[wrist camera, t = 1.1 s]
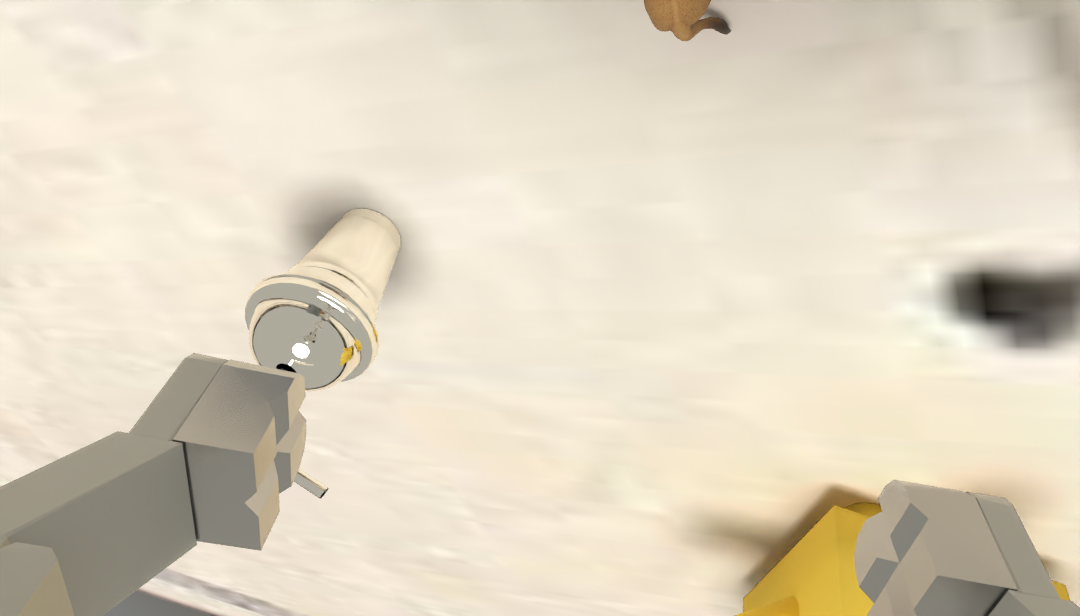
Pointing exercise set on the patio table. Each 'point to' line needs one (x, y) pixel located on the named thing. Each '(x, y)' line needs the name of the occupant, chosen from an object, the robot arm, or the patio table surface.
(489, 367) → the patio table surface
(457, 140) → the patio table surface
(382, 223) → the cup with straw
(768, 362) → the patio table surface
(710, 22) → the lion figurine
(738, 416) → the patio table surface
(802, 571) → the yellow teapot
